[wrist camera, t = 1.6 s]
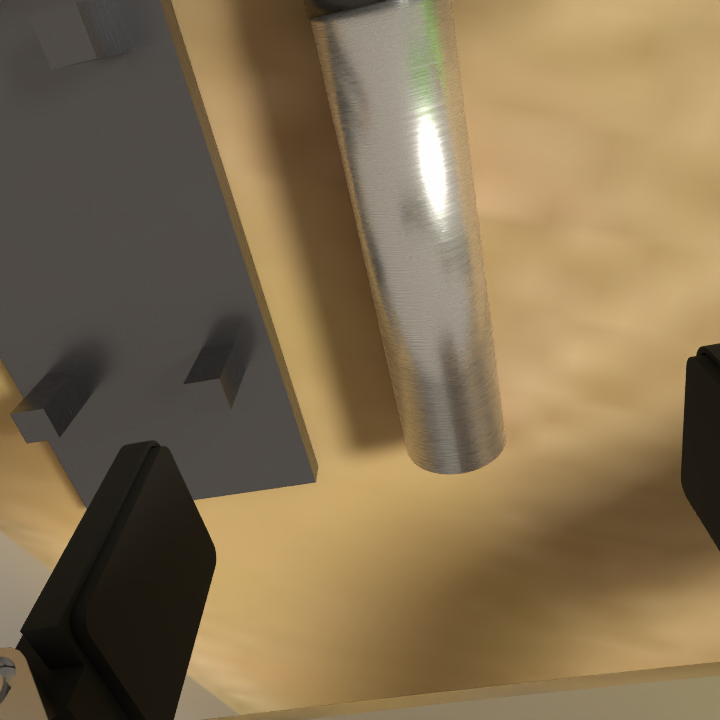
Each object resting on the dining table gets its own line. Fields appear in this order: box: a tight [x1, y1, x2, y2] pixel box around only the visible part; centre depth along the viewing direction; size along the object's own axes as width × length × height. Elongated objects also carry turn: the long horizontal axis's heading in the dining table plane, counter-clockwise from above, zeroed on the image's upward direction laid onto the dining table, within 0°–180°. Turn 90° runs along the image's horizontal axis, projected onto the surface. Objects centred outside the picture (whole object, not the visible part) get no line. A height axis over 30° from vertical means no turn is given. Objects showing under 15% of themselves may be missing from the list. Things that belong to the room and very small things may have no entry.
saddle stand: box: [0, 0, 318, 508], centre depth 21 cm, size 12×28×10 cm, turn 12°
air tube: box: [304, 0, 506, 474], centre depth 23 cm, size 20×4×4 cm, turn 12°
